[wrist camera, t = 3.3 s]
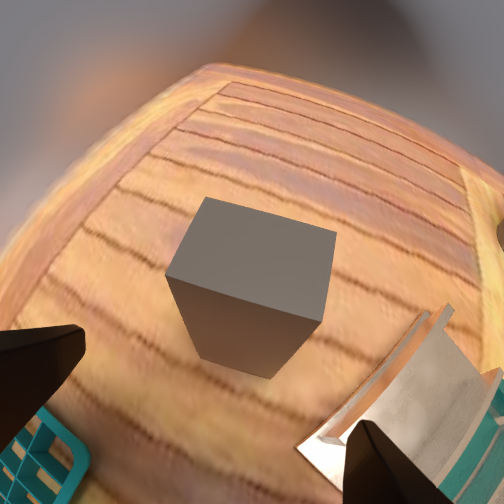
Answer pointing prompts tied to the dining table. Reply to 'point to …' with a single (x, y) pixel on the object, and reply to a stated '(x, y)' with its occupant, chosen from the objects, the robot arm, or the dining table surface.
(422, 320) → the tray
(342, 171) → the dining table surface
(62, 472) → the ice cube tray
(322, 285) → the tall gray rectangular box
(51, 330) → the robot arm
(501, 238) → the thermos bottle
